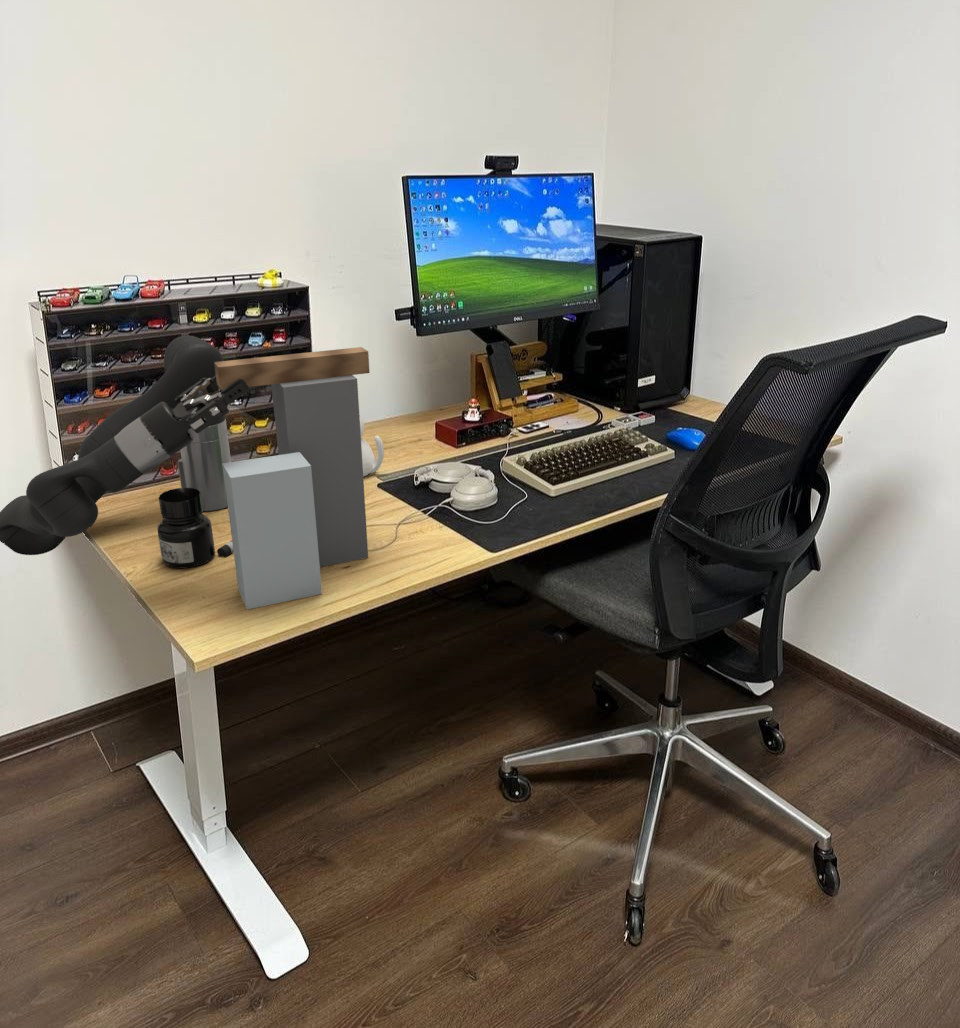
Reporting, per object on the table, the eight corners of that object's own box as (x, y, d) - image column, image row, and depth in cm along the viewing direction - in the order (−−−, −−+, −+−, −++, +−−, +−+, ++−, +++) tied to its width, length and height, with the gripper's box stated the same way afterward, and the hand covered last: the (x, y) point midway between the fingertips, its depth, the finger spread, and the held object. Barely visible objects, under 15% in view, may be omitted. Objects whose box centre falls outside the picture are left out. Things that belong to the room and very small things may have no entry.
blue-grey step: (247, 609, 139) (230, 478, 130) (238, 590, 145) (222, 463, 136) (322, 593, 143) (311, 465, 135) (310, 575, 149) (299, 452, 141)
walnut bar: (220, 390, 137) (218, 367, 136) (216, 384, 140) (214, 362, 139) (369, 373, 146) (368, 351, 145) (362, 368, 149) (361, 347, 148)
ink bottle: (151, 559, 156) (140, 495, 151) (195, 542, 162) (186, 481, 157) (182, 575, 150) (172, 509, 145) (226, 557, 156) (218, 494, 151)
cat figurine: (337, 465, 199) (331, 400, 193) (391, 467, 197) (387, 402, 191) (324, 479, 191) (317, 412, 185) (380, 482, 189) (375, 414, 183)
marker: (226, 559, 156) (225, 548, 155) (217, 557, 157) (216, 547, 156) (279, 526, 169) (278, 516, 168) (270, 524, 170) (269, 515, 169)
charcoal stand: (300, 570, 151) (283, 387, 138) (288, 550, 158) (270, 374, 146) (368, 557, 156) (357, 378, 143) (352, 538, 163) (341, 366, 150)
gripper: (164, 442, 145) (245, 384, 147) (175, 470, 133) (264, 407, 135) (133, 407, 141) (218, 348, 143) (142, 432, 129) (234, 367, 131)
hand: (240, 376), depth 139 cm, fingers open, 8 cm apart
